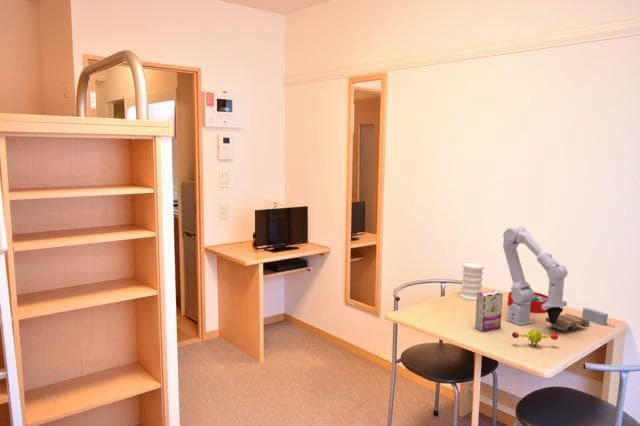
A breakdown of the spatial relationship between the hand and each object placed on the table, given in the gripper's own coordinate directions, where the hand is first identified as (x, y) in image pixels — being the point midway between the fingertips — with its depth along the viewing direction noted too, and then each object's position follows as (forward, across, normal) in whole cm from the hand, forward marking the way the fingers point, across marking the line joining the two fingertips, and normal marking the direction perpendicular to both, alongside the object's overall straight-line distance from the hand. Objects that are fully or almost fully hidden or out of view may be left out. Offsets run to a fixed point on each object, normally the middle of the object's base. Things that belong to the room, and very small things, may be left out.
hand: (552, 323), depth 208 cm
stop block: (+4, +31, 0) cm, 32 cm away
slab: (+1, +10, 0) cm, 10 cm away
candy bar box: (+4, -24, +15) cm, 28 cm away
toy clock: (+4, +21, +28) cm, 36 cm away
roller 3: (+4, +21, 0) cm, 22 cm away
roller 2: (+3, +10, 0) cm, 11 cm away
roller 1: (+3, +4, 0) cm, 5 cm away
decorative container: (+4, +5, +52) cm, 52 cm away
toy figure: (+4, -22, -7) cm, 23 cm away
